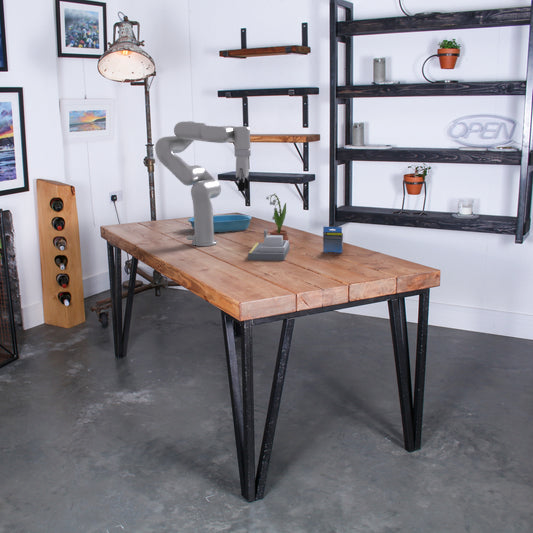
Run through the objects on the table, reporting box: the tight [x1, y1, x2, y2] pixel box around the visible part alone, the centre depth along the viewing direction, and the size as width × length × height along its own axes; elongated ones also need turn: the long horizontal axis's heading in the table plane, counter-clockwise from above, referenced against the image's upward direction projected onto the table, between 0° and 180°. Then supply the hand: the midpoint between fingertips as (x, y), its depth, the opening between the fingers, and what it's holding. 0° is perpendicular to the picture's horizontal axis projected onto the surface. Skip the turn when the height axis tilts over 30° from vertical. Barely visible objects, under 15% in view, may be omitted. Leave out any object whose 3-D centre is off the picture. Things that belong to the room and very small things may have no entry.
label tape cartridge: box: [322, 226, 344, 254], centre depth 298 cm, size 9×4×12 cm, turn 74°
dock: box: [247, 240, 290, 261], centre depth 296 cm, size 16×24×5 cm, turn 172°
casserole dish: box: [187, 214, 253, 234], centre depth 361 cm, size 37×22×7 cm, turn 112°
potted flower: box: [265, 193, 289, 241], centre depth 321 cm, size 12×10×25 cm
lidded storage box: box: [263, 228, 283, 247], centre depth 295 cm, size 8×5×8 cm, turn 82°
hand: (243, 189), depth 306 cm, fingers open, 9 cm apart
